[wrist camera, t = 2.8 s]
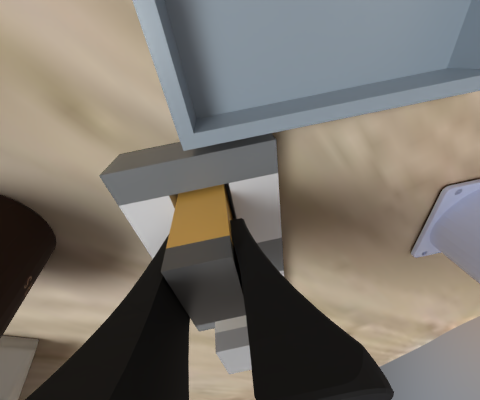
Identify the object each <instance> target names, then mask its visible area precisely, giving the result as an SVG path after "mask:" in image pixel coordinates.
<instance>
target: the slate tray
mask: <svg viewBox="0 0 480 400" xmlns="http://www.w3.org/2000/svg"><path fill="white" fill-rule="evenodd" d="M132 1H133V3H134V6H135V9H136V12H137V15H138V18H139V21H140V24H141V27H142V30H143V33H144V36H145V39H146V42H147V45H148V48H149V51H150V54H151V57H152V59H153V62H154V65H155V68H156V71H157V74H158V77H159V80H160V83H161V86H162V89H163V92H164V95H165V98H166V101H167V104H168V107H169V110H170V113H171V116H172V118H173V121H174V124H175V127H176V130H177V133H178V136H179V139H180V142H181V145H182V148H183V151H186V150H191V149H196V148H201V147H206V146H211V145H215V144H220V143H225V142H230V141H235V140H240V139H245V138H250V137H255V136H260V135H264V134H269V133H274V132H279V131H284V130H289V129H294V128H299V127H304V126H309V125H314V124H318V123H323V122H328V121H333V120H338V119H343V118H348V117H353V116H358V115H363V114H367V113H372V112H377V111H382V110H387V109H392V108H397V107H402V106H407V105H412V104H416V103H421V102H426V101H431V100H436V99H441V98H446V97H451V96H456V95H461V94H465V93H470V92H475V91H480V0H132Z"/></svg>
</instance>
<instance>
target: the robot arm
mask: <svg viewBox="0 0 480 400" xmlns="http://www.w3.org/2000/svg"><path fill="white" fill-rule="evenodd" d="M230 226H231V236H232V240H233V244H234V248H235V251H236V255H237V259H238V263H239V268H240V273H241V280H242V288H243V296H244V304H245V312H246V321H247V330H248V338H249V347H250V357H251V366H252V376H253V386H254V396H255V398H256V400H391V399H392V397H393V394H394V391H393V390H392V388H391V386H390V384H389V382H388V380H387V379H386V377H385V375H384V374H383V372H382V371H381V369H380V368H379V366H378V365H377V364H376V362H375V361H374V359H373V358H372V357H371V356H370V354H369V353H368V352H367V350H366V349H365V348H364V347H363V345H361V344H360V343H359V342H358V341H356V340H355V339H354V338H353V337H351V336H350V335H349V334H347V333H346V332H345V331H344V330H342V329H341V328H340V327H339V326H337V325H336V324H335V323H334V322H332V321H331V320H330V319H329V318H328V317H326V316H325V315H324V314H323V313H322V312H320V311H319V310H318V309H317V308H316V307H315V306H314V305H313V304H311V303H310V302H309V301H308V300H307V299H306V298H305V297H304V296H303V295H302V294H301V293H300V292H298V291H297V290H296V289H295V288H294V287H293V286H292V285H291V284H290V283H289V282H288V281H287V280H286V279H285V277H284V276H283V275H282V274H281V273H280V272H279V271H278V270H277V269H276V267H275V266H274V265H273V264H272V263H271V262H270V260H269V259H268V258H267V257H266V255H265V254H264V253H263V251H262V250H261V249H260V247H259V246H258V244H257V243H256V241H255V240H254V238H253V237H252V235H251V233H250V232H249V230H248V228H247V226H246V224H245V221H244V219H242V218H239V219H234V220H230ZM168 237H169V235H168V236H167V238H166V239H165V241H164V242H163V244H162V246H161V247H160V249H159V250H158V252H157V253H156V255H155V256H154V258H153V260H152V261H151V263H150V264H149V266H148V267H147V269H146V270H145V271H144V273H143V274H142V276H141V277H140V279H139V280H138V281H137V283H136V284H135V285H134V287H133V288H132V289H131V291H130V292H129V293H128V295H127V296H126V297H125V299H124V300H123V301H122V302H121V303H120V305H119V306H118V307H117V308H116V309H115V311H114V312H113V313H112V314H111V315H110V316H109V318H108V319H107V320H106V321H105V322H104V323H103V324H102V325H101V326H100V327H99V328H98V330H97V331H96V332H95V333H94V334H93V335H92V336H91V337H90V338H89V339H88V340H87V341H86V342H85V343H84V345H83V346H82V347H81V348H80V349H79V350H78V351H77V352H76V353H75V354H74V355H73V356H72V357H71V358H70V359H69V360H68V361H67V362H65V363H64V364H63V365H62V366H61V367H60V368H59V369H58V370H57V371H56V372H55V373H54V374H53V375H52V376H51V377H50V378H49V379H48V380H47V381H45V382H44V383H43V384H42V385H41V386H40V387H39V388H38V389H37V390H36V391H34V392H33V393H32V394H31V395H30V396H29V397H28V398H27V399H26V400H189V372H188V353H189V322H190V317H189V315H188V314H187V312H186V310H185V309H184V307H183V306H182V304H181V303H180V301H179V300H178V298H177V296H176V295H175V293H174V292H173V290H172V289H171V287H170V286H169V284H168V282H167V281H166V279H165V278H164V276H163V275H162V273H161V268H162V264H163V259H164V255H165V250H166V246H167V242H168ZM441 252H442V253H443V254H444V255H445V256H447V257H448V258H449V259H450V260H451V261H453V262H454V263H455V264H456V265H458V266H459V267H460V268H461V269H462V270H464V271H465V272H466V273H467V274H468V275H470V276H471V277H472V278H473V279H475V280H476V281H477V282H478V283H479V284H480V179H478V180H473V181H468V182H464V183H459V184H454V185H450V186H447V187H445V188H444V189H443V190H442V191H441V193H440V195H439V197H438V199H437V201H436V203H435V205H434V207H433V209H432V211H431V213H430V215H429V217H428V219H427V221H426V223H425V225H424V227H423V230H422V232H421V234H420V236H419V238H418V240H417V242H416V244H415V246H414V248H413V250H412V252H411V255H412V256H413V257H416V258H417V257H422V256H427V255H431V254H436V253H441Z"/></svg>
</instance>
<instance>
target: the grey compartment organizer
mask: <svg viewBox="0 0 480 400" xmlns="http://www.w3.org/2000/svg"><path fill="white" fill-rule="evenodd" d="M38 341H39V339H32V338H22V337H13V336H3V335H2V337H1V338H0V400H18V399H19V396H20V393H21V391H22V388H23V385H24V382H25V380H26V377H27V374H28V371H29V368H30V366H31V363H32V360H33V357H34V354H35V351H36V348H37V345H38Z"/></svg>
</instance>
